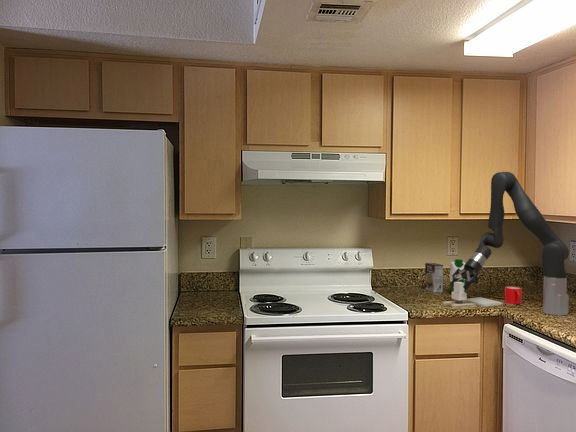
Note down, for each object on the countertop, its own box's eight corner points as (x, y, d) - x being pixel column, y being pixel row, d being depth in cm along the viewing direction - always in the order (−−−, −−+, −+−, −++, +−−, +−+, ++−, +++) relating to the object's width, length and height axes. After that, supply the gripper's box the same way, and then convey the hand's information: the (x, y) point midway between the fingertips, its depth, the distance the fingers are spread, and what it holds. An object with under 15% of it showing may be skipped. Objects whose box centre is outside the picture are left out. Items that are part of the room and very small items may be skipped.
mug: (512, 306, 218) (512, 290, 217) (502, 300, 230) (502, 286, 229) (528, 306, 217) (528, 290, 217) (517, 301, 229) (517, 286, 229)
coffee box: (424, 289, 260) (424, 263, 260) (433, 289, 262) (433, 262, 262) (433, 292, 252) (434, 265, 251) (443, 291, 254) (443, 264, 253)
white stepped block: (466, 299, 218) (466, 282, 217) (458, 300, 216) (459, 283, 215) (459, 297, 222) (459, 281, 222) (451, 298, 220) (451, 282, 220)
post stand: (475, 306, 216) (475, 293, 216) (458, 308, 212) (458, 295, 212) (459, 302, 226) (459, 289, 226) (442, 304, 222) (442, 291, 222)
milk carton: (450, 295, 244) (450, 259, 244) (449, 292, 253) (449, 258, 253) (467, 296, 242) (467, 260, 241) (465, 292, 251) (465, 258, 250)
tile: (502, 304, 221) (502, 302, 221) (484, 306, 216) (484, 304, 216) (480, 299, 234) (480, 297, 234) (463, 300, 229) (463, 299, 229)
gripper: (461, 256, 228) (443, 279, 224) (482, 259, 215) (464, 284, 211) (468, 266, 231) (451, 289, 226) (490, 269, 217) (472, 294, 213)
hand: (458, 286), depth 219 cm, fingers open, 8 cm apart
